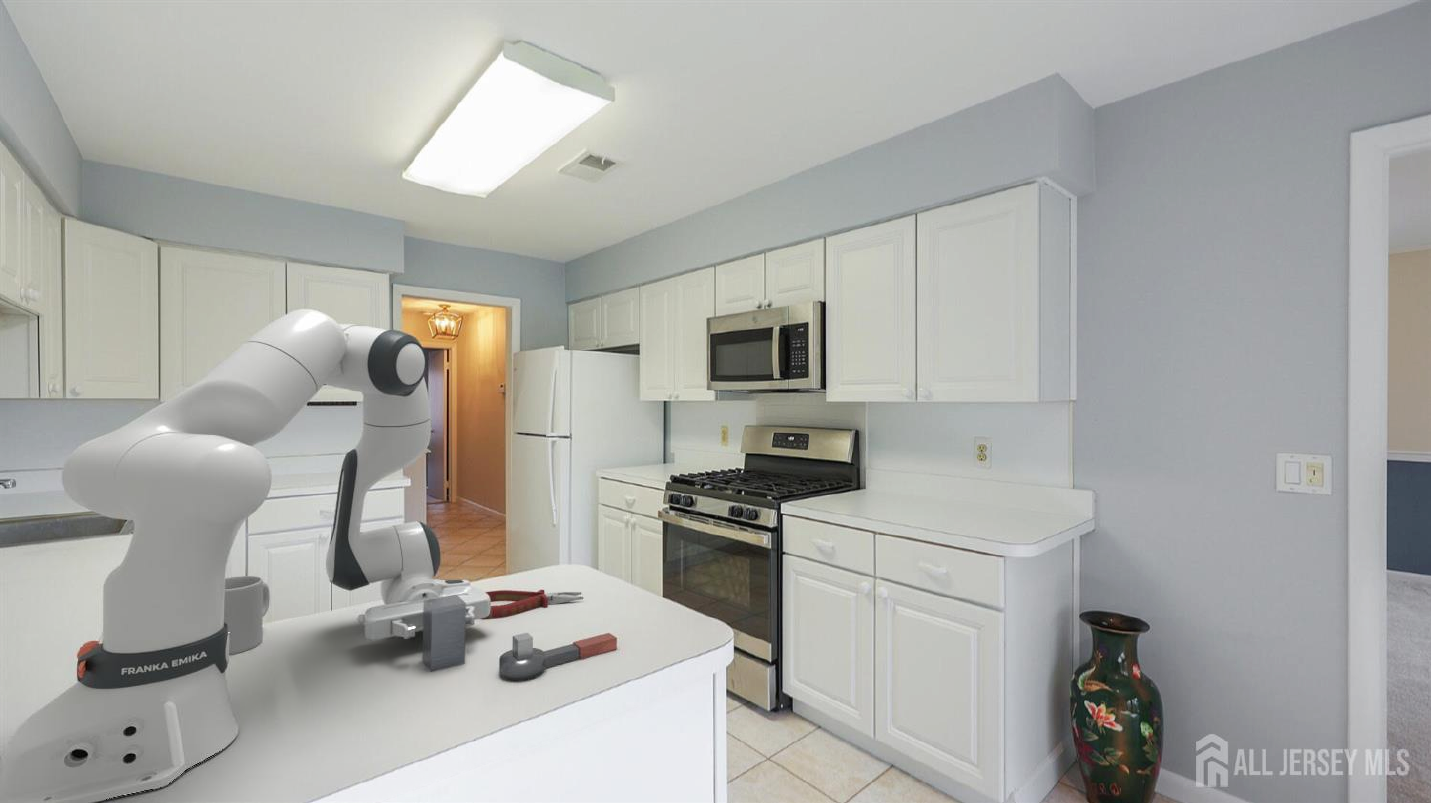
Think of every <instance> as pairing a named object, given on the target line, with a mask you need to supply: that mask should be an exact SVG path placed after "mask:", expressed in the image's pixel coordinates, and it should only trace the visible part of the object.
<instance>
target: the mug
mask: <svg viewBox="0 0 1431 803" xmlns="http://www.w3.org/2000/svg"><path fill="white" fill-rule="evenodd" d="M269 588H270V587H269V585H268V584H267V583H266V582H265V581H264V580H263V578H262V577H260V576H255V575H254V576H253V575H244V576H243V575H242V576H233V577H232V576H231V577H225V596H224V622H225V623H226V624H227V626H228V632H230V633H229V656H231V655H235V654H240V653H243V652H247V651H249V650H252V649H253V648H256V647H258V646H259V645H261V643H262V641H263V639H264V638H263V636H264V634H263V630H264V629H263V626H262V625H264V624H263V620H264V619H263V618H264V617H265V616H266V614H267V613H268V610H269V608H270V599H271V597H270V596H271V595H270V594H271V592H270V589H269Z"/></svg>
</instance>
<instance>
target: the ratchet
mask: <svg viewBox="0 0 1431 803" xmlns="http://www.w3.org/2000/svg"><path fill="white" fill-rule="evenodd" d="M533 645H534V637H533V636H532V635H531V634H530V633H529V632H524V633H519V634H516V635H515V634H514V635H512V645H511V646H512V647H511V648H512V649H511V650H508V651H506V652H504V653H502V654H501V655H500V657H499V659H498V660H499V662H498V666H499V667H498V668H499V669H498V675H499V677H500V678H501V679H502V680H504V681H507V682H525V681H530V680H534V679H537V678H538V677H540V676H542V675H543V674H544V673H545V670H546V669H548V668H551V667H555V666H559V665H562V664H563V665H564V664H566V663H570V662H574V661H577V660H582V659H583V660H584V659H586V658H591V657H594V656H597V655H602V654H604V653H607V652H611V651H615V650H617V648H618V637H616V636H615V635H613V634H611V632H607V633H603V634H599V635H596V636H592V637H588V638H583V639H579V640H576V641H573V642H572V644H568V645H564V646H559V647H556V648H551V649H548V650H545V651H544V650H542V649H541V648H537V647H536V648H535V647H534V646H533Z"/></svg>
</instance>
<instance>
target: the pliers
mask: <svg viewBox="0 0 1431 803" xmlns="http://www.w3.org/2000/svg"><path fill="white" fill-rule="evenodd" d="M484 592H485V593H487V594H488V595H489V597H490V601H491V602H510V603H507V604H505V603H504V604H500V605H491V609H490V614H489V616H487V617H486V618H481V620H490V619H499V618H501V619H502V618H507V617H511V616H515V615H517V614H522V613H526V612H528V611H531V610H535V609H537V608H540V607H541V608H543V609H546V608H548V607H549V606H548V605H557V604H565V603H569V602H574V601H579V600H580V601H581V600H584V596H580V595H582V591H581V592H579V591H575V592H574V591H569V592H568V591H565V592H564V591H561V592H560V591H558V592H557V591H556V592H549V593H545V589H539V590H538V591H528V590H527V591H526V590H506V589H503V590H502V589H501V590H500V589H499V590H492V591H491V590H490V591H484Z"/></svg>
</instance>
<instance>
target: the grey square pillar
mask: <svg viewBox="0 0 1431 803" xmlns="http://www.w3.org/2000/svg"><path fill="white" fill-rule="evenodd" d="M465 618H466V603H465V602H464V601H463V600H462V599H461V598H460V597H459V596H457V595H451V596H445V597H440V598H434V599H429V600H424V606H423V631H422V661H423V663H424V664H425V666H426V667H427V668H428V670H429V671H430V672H435V671H440V670H443V669H447V668H452V667H455V666H459V665H464V664H465V663H466V661H465V660H466V659H465V658H466V626H465Z"/></svg>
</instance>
